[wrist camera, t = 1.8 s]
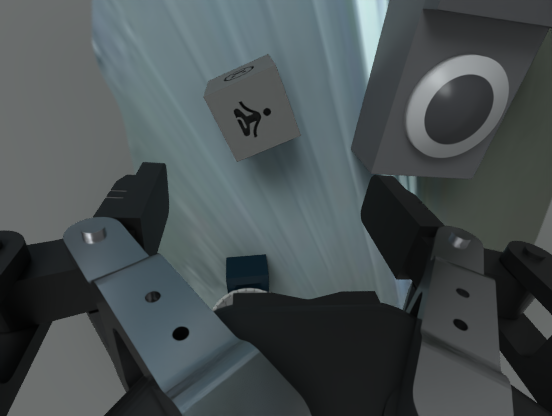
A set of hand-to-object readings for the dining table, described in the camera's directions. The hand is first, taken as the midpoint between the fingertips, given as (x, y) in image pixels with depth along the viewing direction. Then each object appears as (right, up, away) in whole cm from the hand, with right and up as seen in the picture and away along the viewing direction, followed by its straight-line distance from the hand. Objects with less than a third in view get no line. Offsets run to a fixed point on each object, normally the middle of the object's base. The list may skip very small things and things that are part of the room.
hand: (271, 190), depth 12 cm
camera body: (+12, +10, +13) cm, 21 cm away
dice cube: (-2, +8, +13) cm, 16 cm away
